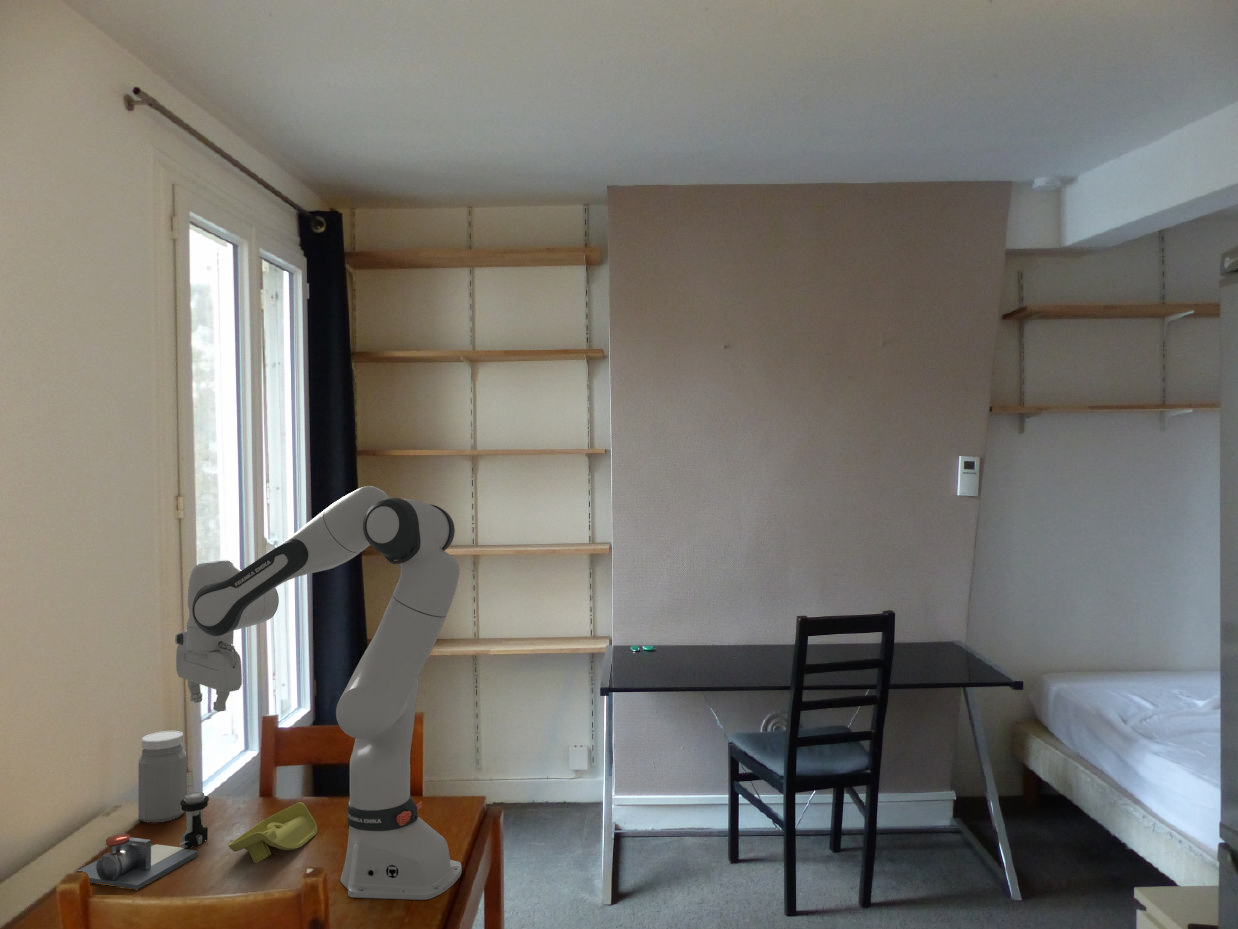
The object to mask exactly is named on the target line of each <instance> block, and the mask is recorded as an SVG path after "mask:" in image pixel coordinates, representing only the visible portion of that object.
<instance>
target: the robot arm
mask: <svg viewBox="0 0 1238 929" xmlns="http://www.w3.org/2000/svg"><path fill="white" fill-rule="evenodd" d="M455 529H456V528H455V523H454V521H453V518H452V517H451V515H450V514H449V513H448V512H447V511H446V510H444V509H443V508H441V507H440V506H437V505H434V504H428V503H426V502H424V501H421V500H418V499H412V498H410V499H409V498H400V497H389V496H388V494H387V493H386V492H385V491H384V490H382V489H380V488H378V487H376V486H372V485H366V486H362V487H359V488H357V489H356V490H354V491H352V492H349V493H348V494H346V495H345V496H342V497H341V498H340V499H338V500H336V501H334V502H333V503H332V504H330V505H329V506H328V507H326V508H325V509H323V511H321V512H319V513H318V514H317V515H316V516H314V518H312V519H311V520H310V521H308V522H307V523H306V524H305V525H303V526H302V527H301V528H300V529H298V530H297V531H296V532H294V534H292V535H291V536H289V537H288V538H287V539H285V540H284V541H283V542H282V543H280V544H278V545H277V546H276V547H275V548H273V549H271V550H270V551H269V552H267V553H266V554H264V555H262V556H261V557H259V558H258V559H256V560H255V561H254V562H252V563H251V564H248V565H247V566H246V567H245V568H243V569H240V568H239V567H238V566H237V565H236V564H235V563H234V562H233V561H232V560H229V559H221V560H215V561H214V560H213V561H207V562H202V563H201V562H200V563H199V564H196V565H195V566H194V567H192V568H193V569H192V571H191V573H190V576H189V581H188V590H187V607H188V612H189V613H188V619H187V622H186V629H185V630H183V631H181V632H178V633H176V634H175V637H174V642H175V644H176V645H177V647H176V654H175V662H176V663H175V668H176V673H177V676H178V678H180V679H182V680H183V679H184V680H187V687H188V691H189V693H190V694H189V695H190V702H191V703H195V704H197V703H201V702H202V701H203V692H201V687H200V685H202V686H203V687H207V688H210V689H212V690H215V695H216V698H215V699H216V700H215V701H213V704H212V705H213V708H212V709H213V710H214V711H215V712H216V711H217V712H224V711H225V710H226V704H227V701H228V699H229V696H230V692H235V691H236V692H237V691H239V690H240V689H241V687H242V683H243V675H242V674H243V673H242V672H243V671H242V660H241V656H240V653H238V651H237V650H236V648H235V645H234V635H235V634H234V633H235V632H234V631H237V630H240V629H244V628H248V627H252V626H256V625H259V624H262V623H265V622H267V621H269V620H270V619H272V618H273V617H274V616H275V615H276V613H277V611H278V608H279V601H280V600H279V599H280V598H279V597H280V596H279V593H278V591H277V587H278V586H280V585H282V584H283V583H286V582H287V581H290V580H293V579H296V578H298V577H302V576H305V575H308V574H313V573H314V574H315V573H319V572H322V571H328V570H331V569H334V568H336V567H338V566H341V565H343V564H345V563H347V562H348V561H350V560H352V559H353V558H355V557H356V556H358V555H359V554H361V552H363V551H365V550H366V549H367V548H368V547H370V546H371V547H372V548H373V549H374V550H376V551H377V552H378V553H380V554H381V555H382V556H383V557H384V558H385V559H386V560H387V561H388V562H389V563H390V564H392V565H399V566H400V576H399V577H398V578H399V579H398V582H397V584H396V586H395V588H394V590H393V592H392V594H391V598H390V600H389V602H388V603H387V607H386V609H385V611H384V613H383V616H382V618H381V620H380V622H379V625H378V627H377V629H376V631H375V633H374V636H373V637H372V638H371V641H370V642H369V644H368V646H367V648H366V649H365V651H364V653H363V654H362V656H361V658H360V660H359V662H358V664H357V666H356V667H355V669H354V671H353V673H352V675H351V677H350V679H349V681H348V683H347V685H346V687H345V688H344V691H343V692H342V694H341V696H340V698H339V700H338V702H337V704H336V707H335V708H336V709H335V716H336V717H335V718H336V721H337V723H338V726H339V728H340V729H341V730H342V732H344V733H345V734H346V735H348V736H349V737H351V738H354V739H355V741H354V744H353V749H352V752H351V756H350V760H349V801H348V802H347V811H346V812H347V813H346V816H347V820H346V822H347V827H348V838H347V846H346V847H347V848H346V854H345V861H344V864H343V868H342V872H341V876H340V882H341V884H342V885H343V886H344V887H345V888H346V889H347V895H348V897H350V898H357V899H359V898H363V899H387V900H388V899H392V900H393V899H395V900H424V901H425V900H430V899H433V898H435V897H437V896H440V895H441V894H442V893H445V891H447V890H449V888H451V887H452V886H453V885H454V884H455V883H456V882H457V881H458V880H459V879H460V877H461V875H462V873H463V872H462V871H463V868H462V864H461V862H460V861H456V860H453V859H451V858H450V856H451V855H450V851H449V846H448V842H447V840H446V839H445V837H444V836H442V835H441V834H440V833H438V831H436V830H435V829H434V828H432V827H431V826H430V825H429V824H428V823H427V822H426V821H424V820H423V819H422V818H421V817H419V812H418V811H419V810H420V809H421V808H422V807H423V805H422V804H423V801H421V800H420V801H419V802H418V803H415V801H414V799H413V797H412V794H411V793H410V792H411V790H410V788H411V786H410V785H411V784H410V783H411V781H410V778H411V776H410V775H411V773H410V772H411V748H412V742H413V734H414V727H415V725H414V724H415V716H416V707H417V706H416V704H417V697H418V691H419V679H418V676H419V675H420V673H421V671H422V669H423V667H424V666H425V664H426V662H427V660H428V659H429V657H430V656H431V654H432V651H433V649H434V646H435V644H436V642H437V639H438V637H439V634H440V632H441V630H442V627H443V625H444V623H445V620H446V619H447V617H448V613H449V611H450V609H451V606H452V603H453V600H454V596H455V594H456V591H457V587H458V584H459V583H458V582H459V577H460V574H461V573H460V571H461V570H460V565H459V563H458V561H457V560H456V559H455V558H454V557H453V556H452V555H451V554H450V553H448V552H446V551H447V549H448V548H449V547H450V546H451V545H452V544H453V541H454V538H455V533H456V530H455Z"/></svg>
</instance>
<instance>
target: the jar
mask: <svg viewBox="0 0 1238 929" xmlns="http://www.w3.org/2000/svg"><path fill="white" fill-rule="evenodd" d="M183 743H184V733H183V732H182V731H178V730H164V731H163V730H162V731H157V732H152V733H148V734H147V735H145V736H143V737H141V749H142V750H141V755H140V756H139V758H138V787H137V788H138V790H137V791H138V799H137V802H138V804H137V805H138V808H137V810H138V818H139V819H140V820H141V822H143V823H146V822H147V824H149V823H148V822H153V823H152V824H155V823H154V822H161V823H166V822H165V821H167V822H170V821H173V820H175V818H176V819H178V818H179V817H181V816H182V815H183V814H184V813H185V811H183V810H182V809H181V805H180V802H181V800H183V799H185V796H186V795H187V752H186V751H185V750H184V744H183ZM172 819H173V820H172Z"/></svg>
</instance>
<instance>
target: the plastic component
mask: <svg viewBox="0 0 1238 929" xmlns="http://www.w3.org/2000/svg"><path fill="white" fill-rule="evenodd" d="M317 833H318V825H317V822H316V820H315V819H314V817H313V816H312V814H311V812H310V811H309V809H308V807H307V806H306V804H305V803H303V802H296V803H294V804H293V805H291V806H288V807H287V808H284V809H282V810H281V811H278V812H276V813H274V814H273V815H270V816H269V817H266V818H264V819H263V820H261V821H260V822H259V823H257V824H256V825H254V826H252V827H251V828H250V829H248V830H247V831H245V832H244V833H242V834H241V835H240V836H238V837H236V839H234V840H232V841H231V842H230V843H229V844H228V845H227V846H228V847H229V849H230V850H231V851H232V852H235V853H236V852H239V851H241V850H243V849H244V850H245V851H248V853H249V855H250V857H251V860H252V863H253V864H257V863H259V862H261V861H263V860H264V859H267V858H268V857H269V856H271V855H272V852H271V849H270V847H274V848H276V849H279V850H281V851H282V850H283V851H291V850H297V849H298V848H301V847H302V846H304V845H305V844H306V843H307V842H309V841H310V840H311V839H312V838H313V837H315V836H316V835H317ZM269 846H270V847H269Z"/></svg>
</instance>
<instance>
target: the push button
mask: <svg viewBox="0 0 1238 929" xmlns="http://www.w3.org/2000/svg"><path fill="white" fill-rule="evenodd" d="M209 801H210V797H209V796H207V795H205V793H204V792H202V791H195V792H190V793H188V794H187V793H186V796H185V799H183V800H181V802H180V805H181V809H182V810H183V811H184V812H185V813H186V828H185V830H186V831H185V833H184V834H183V835H182V841H181V842H180V843H178V845H180V848H184V849H192V848H193V847H192V846H194V847H195V845H196V846H197V845H200V844H202V843H203V842H206V841H208V839H209V838H208V836H209V830H208V826H207V827H205V826H204V822H203V821H204V820H203V817H204V816H203V810H205V808H207V807H208V805H209V804H208V803H209ZM205 840H206V841H205ZM202 841H203V842H202ZM191 847H192V848H191Z"/></svg>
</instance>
